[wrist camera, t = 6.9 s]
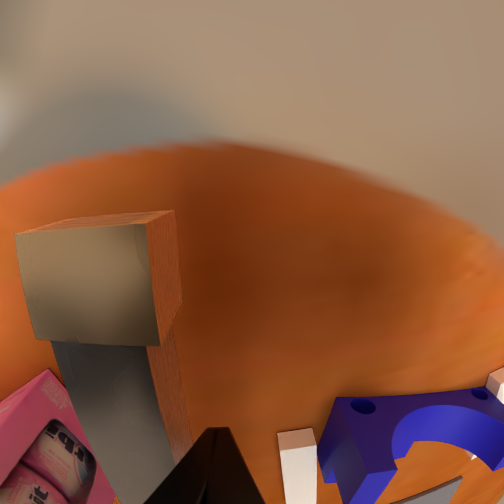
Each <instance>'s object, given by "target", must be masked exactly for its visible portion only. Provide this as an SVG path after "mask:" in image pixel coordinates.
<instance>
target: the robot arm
mask: <svg viewBox="0 0 504 504" xmlns="http://www.w3.org/2000/svg"><path fill="white" fill-rule="evenodd" d="M143 504H266V503H265V501H264V499H263V497H262V495H261V493H260V491H259V489H258V487H257V485H256V483H255V481H254V479H253V477H252V475H251V473H250V471H249V469H248V467H247V465H246V463H245V461H244V459H243V456H242V454H241V452H240V450H239V448H238V446H237V443H236V441H235V439H234V437H233V435H232V432H231V430H230V428H229V427H208V428H207V429H206V430H205V431H204V432H203V433H202V435H201V436H200V437H199V438H198V439H197V441H196V442H195V443H194V444H193V446H192V447H191V448H190V449H189V451H188V452H187V453H186V454H185V455H184V457H183V458H182V459H181V460H180V461H179V463H178V464H177V465H176V466H175V467H174V469H173V470H172V471H171V472H170V473H169V474H168V476H167V477H166V478H165V479H164V480H163V481H162V483H161V484H160V485H159V486H158V487H157V488H156V489H155V491H154V492H153V493H152V494H151V495H150V496H149V497H148V499H147V500H146V501H145V502H144V503H143Z"/></svg>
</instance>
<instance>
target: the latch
mask: <svg viewBox="0 0 504 504" xmlns="http://www.w3.org/2000/svg"><path fill="white" fill-rule="evenodd" d="M14 237H15V244H16V251H17V258H18V264H19V269H20V275H21V280H22V285H23V290H24V294H25V299H26V303H27V307H28V312H29V316H30V319H31V323H32V327H33V331H34V334H35V338H36V339H40V340H50V341H51V343H52V347H53V350H54V353H55V357H56V360H57V363H58V366H59V369H60V372H61V375H62V378H63V381H64V384H65V387H66V389H67V392H68V395H69V397H70V400H71V403H72V405H73V408H74V410H75V413H76V415H77V417H78V420H79V422H80V425H81V427H82V429H83V431H84V434H85V436H86V438H87V440H88V442H89V445H90V447H91V449H92V451H93V453H94V455H95V457H96V459H97V461H98V463H99V465H100V467H101V469H102V471H103V473H104V474H105V476H106V478H107V480H108V482H109V484H110V485H111V487H112V489H113V491H114V492H115V494H116V496H117V497H118V499H119V501H120V502H121V504H143V503H144V502H145V501H146V500H147V499H148V497H149V496H150V495H151V494H152V493H153V492H154V491H155V489H156V488H157V487H158V486H159V485H160V484H161V483H162V481H163V480H164V479H165V478H166V477H167V476H168V474H169V473H170V472H171V471H172V470H173V469H174V467H175V466H176V465H177V464H178V463H179V461H180V460H181V459H182V458H183V457H184V455H185V454H186V453H187V452H188V451H189V449H190V448H191V447H192V446H193V440H192V435H191V431H190V426H189V421H188V416H187V411H186V406H185V401H184V396H183V390H182V384H181V379H180V373H179V367H178V361H177V355H176V348H175V342H174V335H173V328H172V321H173V319H174V317H175V315H176V313H177V311H178V309H179V306H180V304H181V302H182V300H183V297H182V287H181V277H180V266H179V255H178V243H177V229H176V215H175V210H163V211H149V212H135V213H122V214H110V215H99V216H88V217H78V218H69V219H65V220H62V221H58V222H54V223H51V224H47V225H44V226H40V227H37V228H33V229H30V230H26V231H23V232H20V233H16V234H14Z"/></svg>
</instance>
